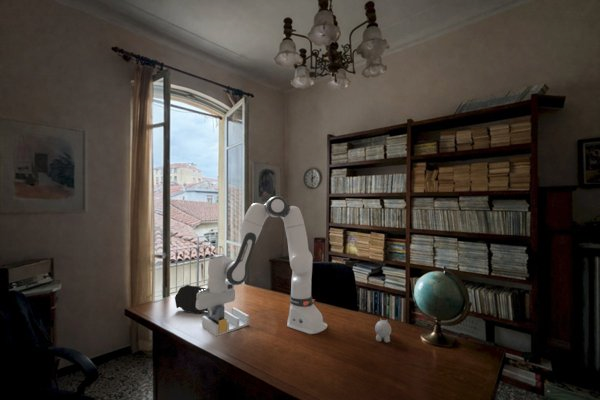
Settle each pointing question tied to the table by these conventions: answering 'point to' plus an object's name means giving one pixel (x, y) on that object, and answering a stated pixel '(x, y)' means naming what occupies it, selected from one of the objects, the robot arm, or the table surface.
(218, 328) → the rack
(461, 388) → the table surface
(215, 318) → the blanking panel
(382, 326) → the toy rhinoceros
